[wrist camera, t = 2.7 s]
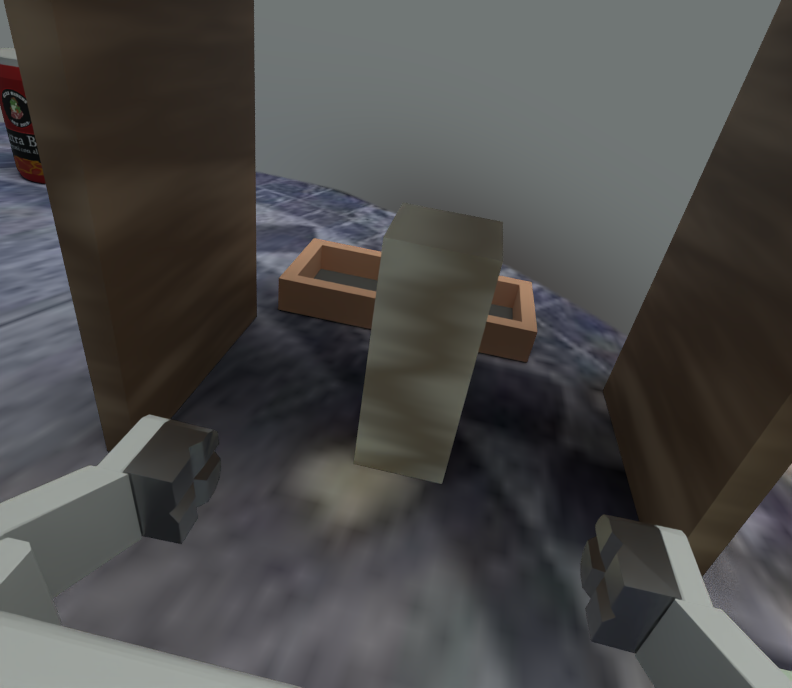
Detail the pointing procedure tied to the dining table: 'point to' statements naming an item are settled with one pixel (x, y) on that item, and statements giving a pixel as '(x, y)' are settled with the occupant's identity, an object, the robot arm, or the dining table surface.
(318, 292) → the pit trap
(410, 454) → the ash block
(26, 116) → the canned food
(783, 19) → the walnut tunnel
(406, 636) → the dining table surface
